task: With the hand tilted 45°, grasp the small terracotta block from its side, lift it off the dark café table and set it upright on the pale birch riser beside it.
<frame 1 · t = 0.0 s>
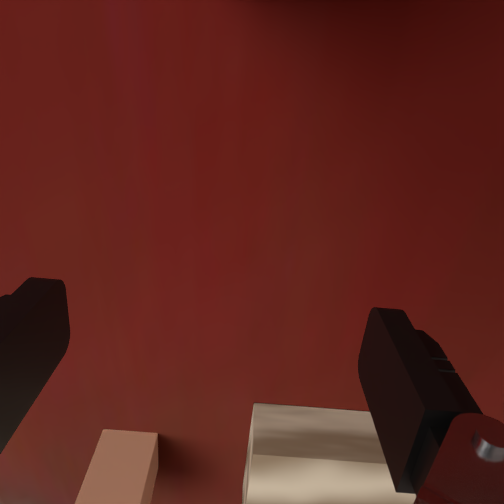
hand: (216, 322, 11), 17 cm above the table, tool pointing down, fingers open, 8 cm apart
terracotta block: (131, 448, 40), on the table
birch riser: (331, 453, 40), on the table
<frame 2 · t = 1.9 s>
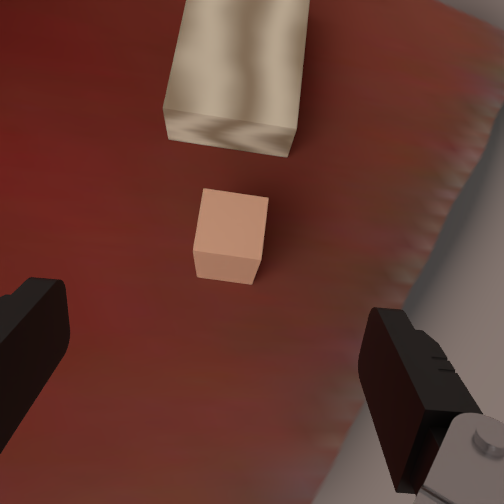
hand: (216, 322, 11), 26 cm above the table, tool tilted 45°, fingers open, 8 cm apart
terracotta block: (228, 254, 39), on the table
birch riser: (238, 82, 45), on the table
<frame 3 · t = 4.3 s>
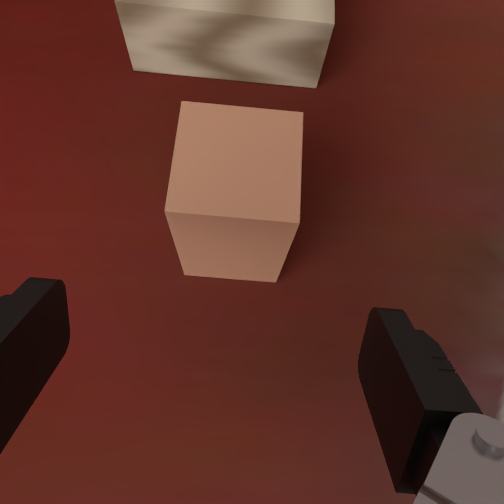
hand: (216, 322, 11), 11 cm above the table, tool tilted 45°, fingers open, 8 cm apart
terracotta block: (234, 236, 24), on the table
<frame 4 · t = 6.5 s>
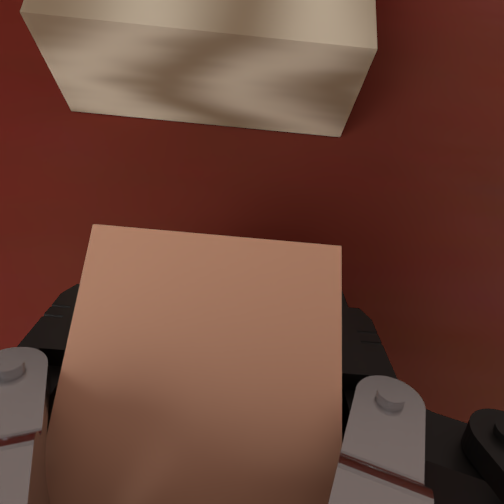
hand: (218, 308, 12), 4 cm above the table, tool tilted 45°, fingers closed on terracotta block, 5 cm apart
terracotta block: (215, 384, 15), on the table, touching gripper
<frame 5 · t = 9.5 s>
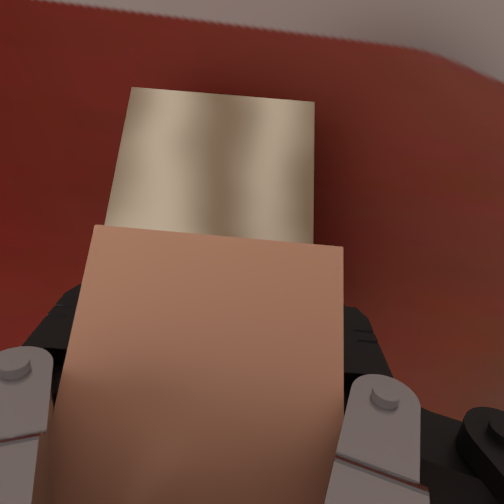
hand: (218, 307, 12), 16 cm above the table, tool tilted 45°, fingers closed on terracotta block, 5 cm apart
terracotta block: (216, 385, 15), point 12 cm above the table, touching gripper
birch riser: (215, 236, 30), on the table
when the fingers open (11 cm above the table, at t = 12.0 s): terracotta block drops 1 cm, resting on birch riser.
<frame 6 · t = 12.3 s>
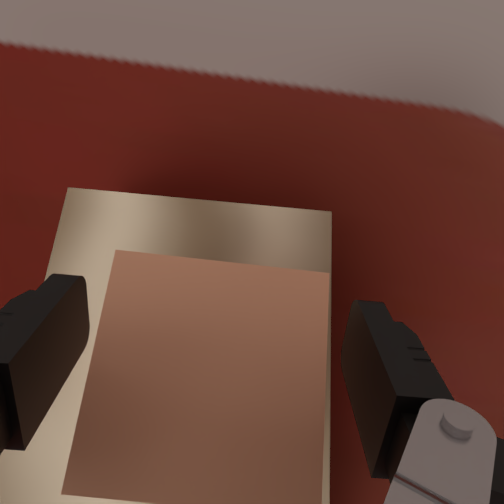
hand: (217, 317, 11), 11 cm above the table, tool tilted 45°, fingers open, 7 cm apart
terracotta block: (216, 387, 16), point 5 cm above the table, touching birch riser
birch riser: (188, 388, 21), on the table
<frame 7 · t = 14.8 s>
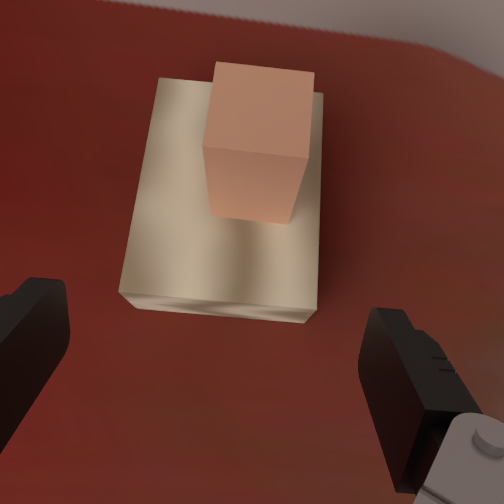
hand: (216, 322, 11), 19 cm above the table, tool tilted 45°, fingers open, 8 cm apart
terracotta block: (253, 185, 28), point 5 cm above the table, touching birch riser
birch riser: (231, 213, 33), on the table
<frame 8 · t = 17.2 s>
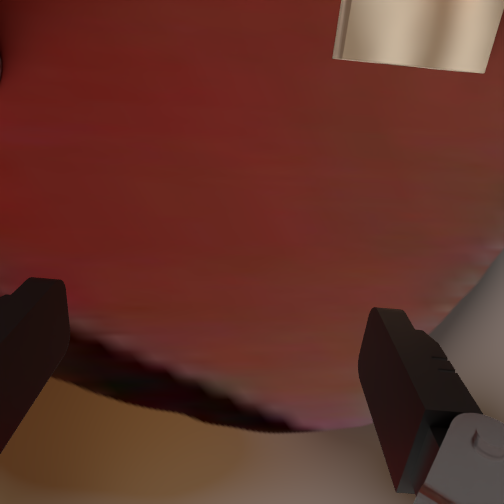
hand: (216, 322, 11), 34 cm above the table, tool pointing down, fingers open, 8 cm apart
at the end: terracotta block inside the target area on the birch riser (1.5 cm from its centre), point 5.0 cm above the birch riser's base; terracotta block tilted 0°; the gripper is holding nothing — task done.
